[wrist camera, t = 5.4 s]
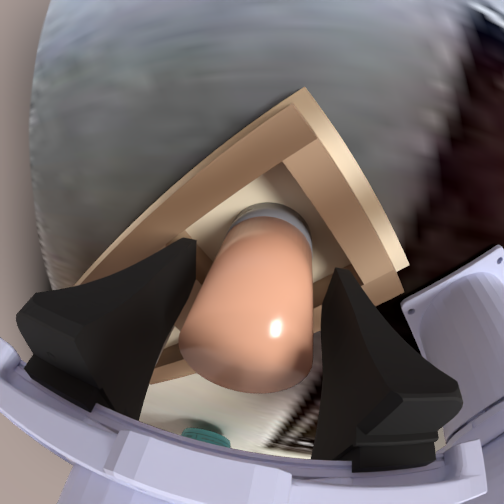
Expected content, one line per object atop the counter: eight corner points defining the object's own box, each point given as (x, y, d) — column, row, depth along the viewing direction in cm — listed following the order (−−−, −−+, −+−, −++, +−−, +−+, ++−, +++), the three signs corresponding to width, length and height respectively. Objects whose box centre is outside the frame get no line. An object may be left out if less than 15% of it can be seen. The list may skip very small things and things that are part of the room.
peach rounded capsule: (326, 253, 14) (336, 375, 8) (260, 286, 15) (234, 401, 9) (281, 186, 12) (260, 286, 6) (212, 229, 14) (152, 335, 8)
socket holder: (403, 252, 14) (446, 354, 8) (161, 359, 23) (131, 426, 17) (304, 87, 11) (308, 75, 5) (78, 280, 20) (27, 341, 14)
